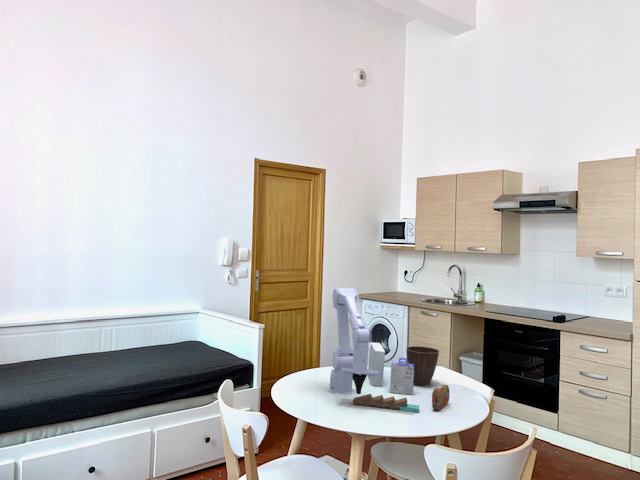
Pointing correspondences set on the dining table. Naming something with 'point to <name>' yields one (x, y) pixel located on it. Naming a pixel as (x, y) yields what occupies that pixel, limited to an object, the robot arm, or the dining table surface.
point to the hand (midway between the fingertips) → (358, 393)
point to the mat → (349, 403)
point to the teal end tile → (410, 408)
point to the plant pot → (422, 363)
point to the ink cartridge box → (402, 377)
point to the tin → (440, 397)
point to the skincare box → (376, 363)
